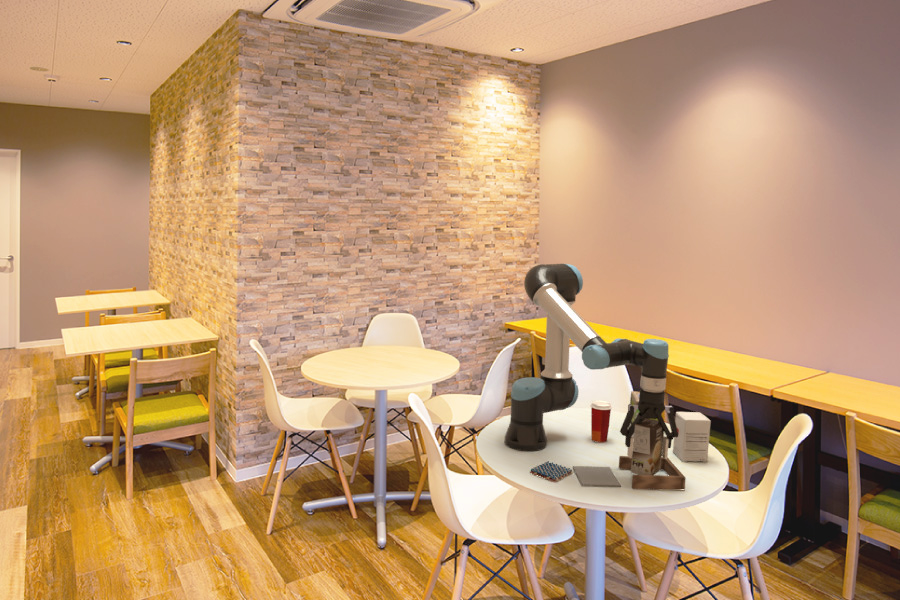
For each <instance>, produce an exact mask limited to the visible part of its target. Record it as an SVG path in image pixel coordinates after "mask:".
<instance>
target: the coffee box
mask: <svg viewBox="0 0 900 600" xmlns="http://www.w3.org/2000/svg"><path fill="white" fill-rule="evenodd" d="M664 434H665V432H664V430H663V427H662V425H661V424H660V423H659V421H658V420H653V419H645V420H644V421H642V423H641V424H635V430H634V440H633V453H632V465H631V469H630V473H631V474H632V475H656V474H657V473H658V472H660V471H661V470H660V469H661V458H662V448H663V436H665V435H664Z"/></svg>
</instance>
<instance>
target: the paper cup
mask: <svg viewBox="0 0 900 600" xmlns="http://www.w3.org/2000/svg"><path fill="white" fill-rule="evenodd" d="M589 406H590V409H591V411H590V413H591V415H590V417H591V420H590V421H591V422H590V423H591V424H590V425H591V426H590V427H591V433H590V434H591V436H590V437H591V440H592V441H593V442H595V441H596V443H606V442H607V441H608V436H609V429H610V428H609V427H610V419H611V418H610V417H611V411H612V408H613V407H612V404H611V403H610V402H609V401H605V400H593V401H592V402H591V403H590V405H589Z"/></svg>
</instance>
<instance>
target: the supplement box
mask: <svg viewBox="0 0 900 600" xmlns="http://www.w3.org/2000/svg"><path fill="white" fill-rule="evenodd" d="M674 419H675V423H676V427H677V432H678V437H674V438H673V448H672V452H674V453H675V454H676V455H677V456H678V457H679V458H680V459H681V460H682V461H703V462H702V463H707V462H708V456H709V455H708V453H709V446H710V445H709V442H710V433H711V423H712V422H711V421H712V420H710V419H709V418H708V417H707V416H706V415H704V414H703V413H701V412H698V411H696V412H694V411H693V412H692V411H691V412H690V411H676V412H675V417H674ZM674 453H673V454H674ZM675 454H674V455H675ZM676 455H675V456H676ZM677 456H676V457H677ZM678 457H677V458H678ZM679 458H678V459H679ZM680 459H679V460H680ZM681 460H680V461H681ZM682 461H681V462H682ZM706 461H707V462H706Z"/></svg>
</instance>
